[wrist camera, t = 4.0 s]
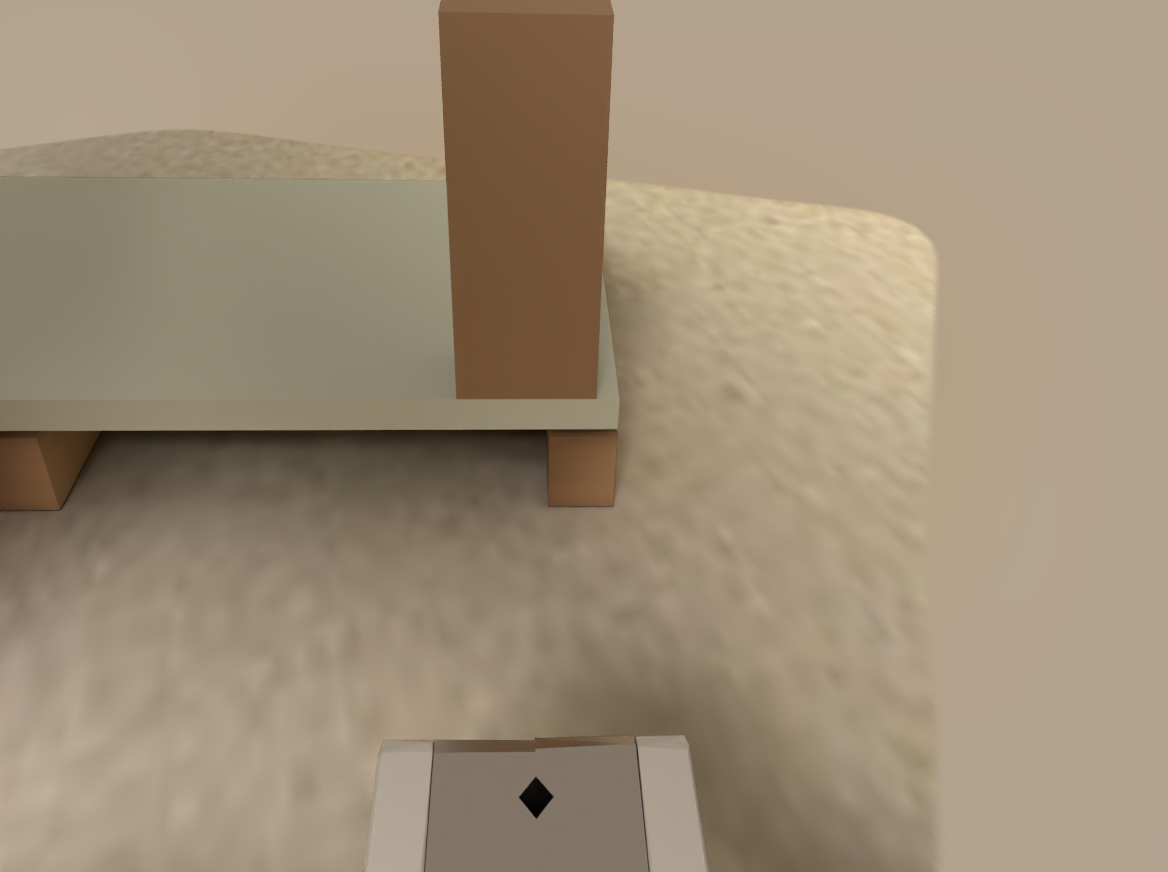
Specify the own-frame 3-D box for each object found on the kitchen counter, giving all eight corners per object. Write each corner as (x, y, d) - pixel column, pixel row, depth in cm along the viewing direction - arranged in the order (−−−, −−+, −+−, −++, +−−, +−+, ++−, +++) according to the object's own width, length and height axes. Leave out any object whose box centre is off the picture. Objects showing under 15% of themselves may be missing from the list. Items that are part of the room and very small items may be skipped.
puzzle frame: (-454, 513, 24) (-505, 440, 23) (-160, 245, 35) (-184, 185, 33) (613, 505, 25) (617, 436, 24) (585, 250, 36) (588, 192, 35)
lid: (-510, 432, 23) (-817, -11, 18) (-213, 200, 32) (-356, -136, 27) (618, 429, 24) (642, 15, 19) (590, 207, 33) (602, -112, 28)
